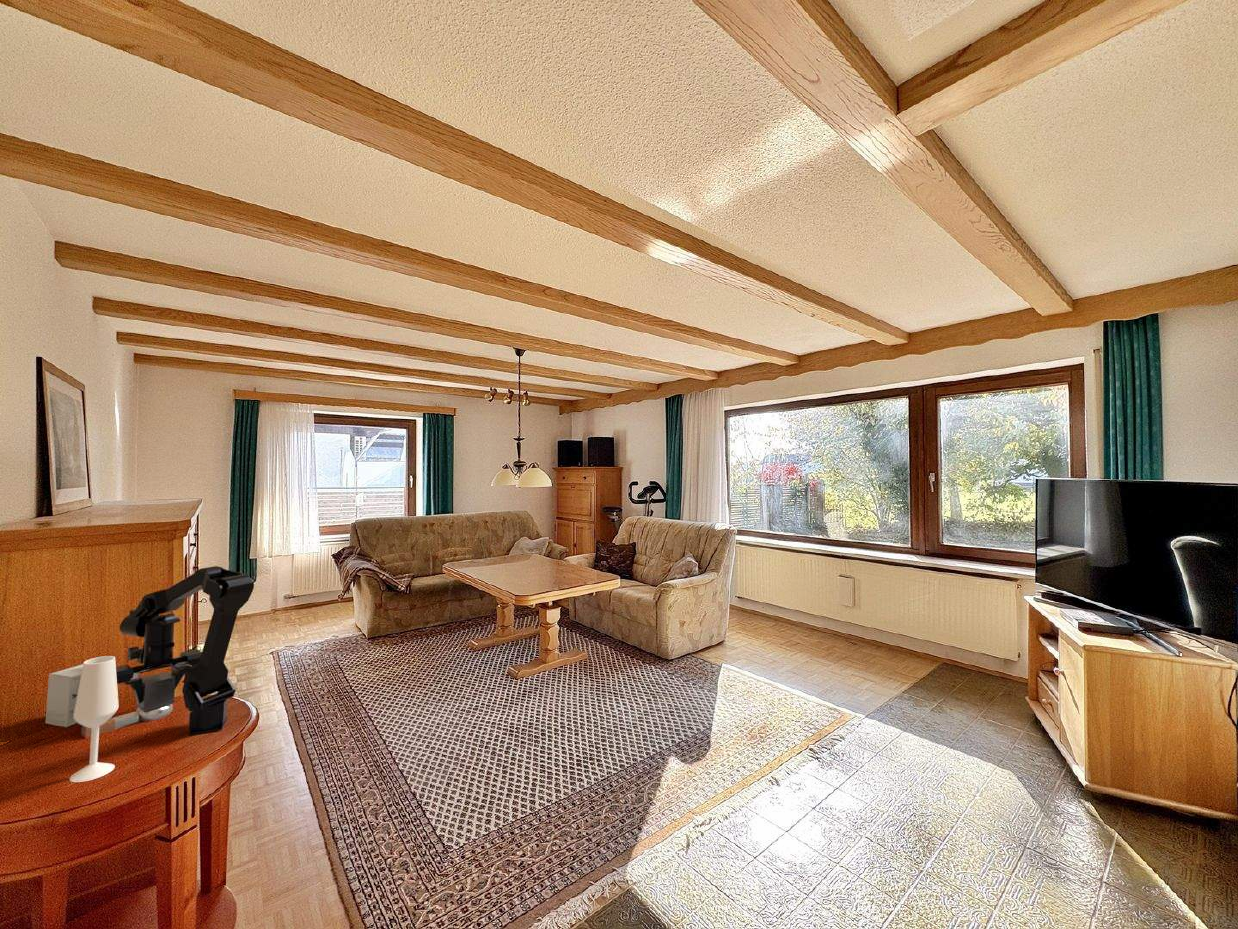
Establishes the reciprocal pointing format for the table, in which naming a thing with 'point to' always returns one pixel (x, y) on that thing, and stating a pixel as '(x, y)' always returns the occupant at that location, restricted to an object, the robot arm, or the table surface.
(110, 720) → the ratchet
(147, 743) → the table surface
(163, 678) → the dark grey box
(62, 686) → the supplement box
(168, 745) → the table surface
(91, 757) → the champagne flute
